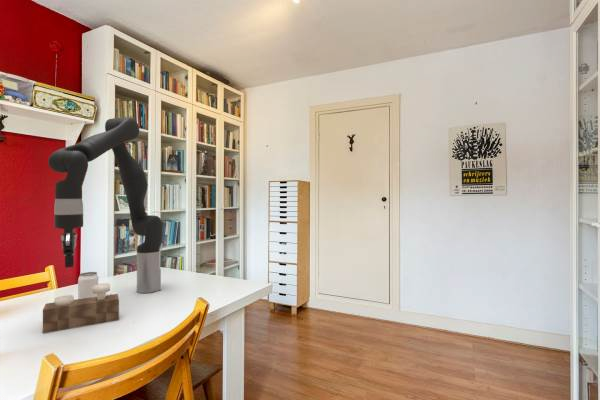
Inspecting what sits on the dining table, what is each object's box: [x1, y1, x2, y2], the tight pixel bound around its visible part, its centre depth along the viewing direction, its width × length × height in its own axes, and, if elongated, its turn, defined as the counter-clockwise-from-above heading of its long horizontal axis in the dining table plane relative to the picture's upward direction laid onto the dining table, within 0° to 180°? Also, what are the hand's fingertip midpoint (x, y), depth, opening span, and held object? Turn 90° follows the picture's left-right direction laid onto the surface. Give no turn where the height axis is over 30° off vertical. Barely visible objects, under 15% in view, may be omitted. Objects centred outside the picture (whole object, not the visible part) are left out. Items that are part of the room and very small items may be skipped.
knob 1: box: [53, 294, 75, 306], centre depth 102 cm, size 5×5×8 cm
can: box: [77, 271, 99, 299], centre depth 122 cm, size 6×6×12 cm
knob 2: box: [92, 282, 111, 300], centre depth 107 cm, size 5×5×8 cm
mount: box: [42, 293, 120, 334], centre depth 104 cm, size 20×7×7 cm, turn 122°
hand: (69, 266), depth 103 cm, fingers closed
